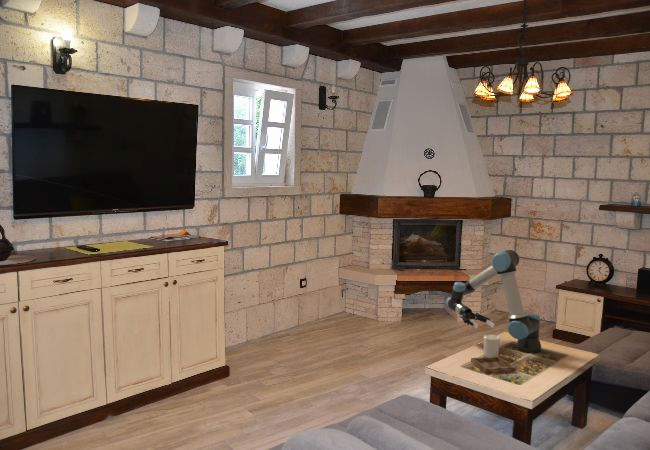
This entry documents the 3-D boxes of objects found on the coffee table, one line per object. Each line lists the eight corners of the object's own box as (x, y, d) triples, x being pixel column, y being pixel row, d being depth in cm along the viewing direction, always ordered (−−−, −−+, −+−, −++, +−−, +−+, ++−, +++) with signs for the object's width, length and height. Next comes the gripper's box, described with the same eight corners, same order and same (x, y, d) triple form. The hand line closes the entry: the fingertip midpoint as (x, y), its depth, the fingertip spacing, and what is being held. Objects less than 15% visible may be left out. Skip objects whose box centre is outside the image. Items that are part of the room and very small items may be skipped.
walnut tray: (499, 360, 313) (499, 356, 313) (515, 371, 295) (515, 367, 295) (470, 362, 310) (470, 357, 309) (485, 373, 292) (485, 369, 292)
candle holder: (496, 360, 314) (496, 340, 313) (480, 356, 320) (480, 337, 318) (501, 355, 322) (502, 336, 320) (485, 352, 327) (486, 333, 326)
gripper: (476, 316, 351) (499, 331, 332) (447, 317, 339) (468, 332, 321) (479, 305, 349) (502, 320, 331) (450, 306, 338) (471, 321, 319)
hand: (485, 326), depth 326 cm, fingers open, 13 cm apart
